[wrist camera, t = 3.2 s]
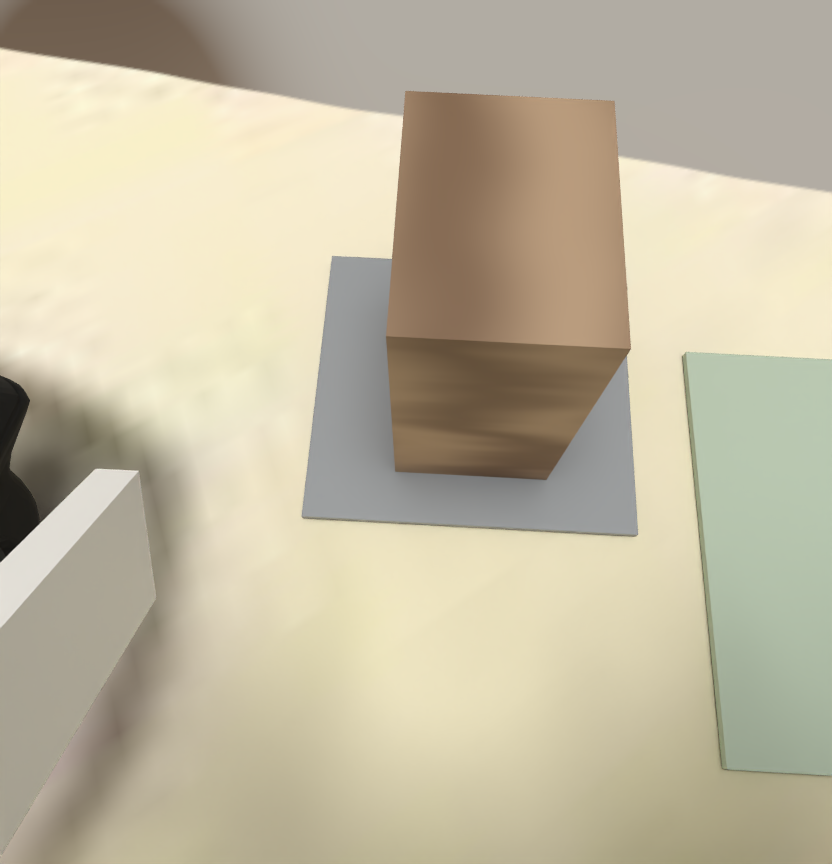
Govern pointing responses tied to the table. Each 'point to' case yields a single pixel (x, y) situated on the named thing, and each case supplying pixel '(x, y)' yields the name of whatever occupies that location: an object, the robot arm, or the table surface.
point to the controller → (3, 491)
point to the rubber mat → (766, 553)
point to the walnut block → (503, 281)
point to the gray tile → (439, 493)
